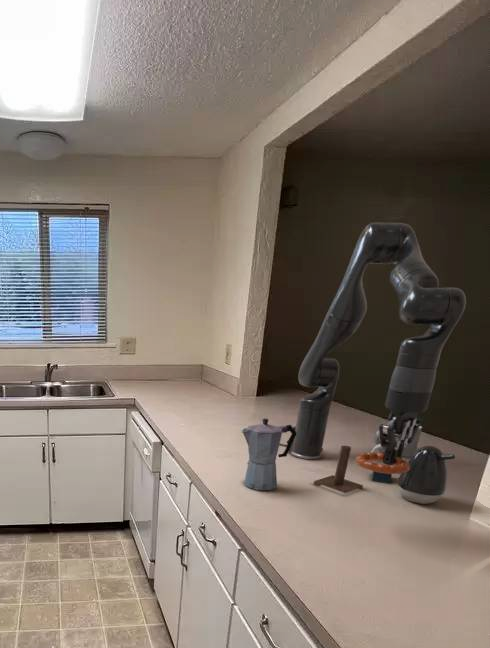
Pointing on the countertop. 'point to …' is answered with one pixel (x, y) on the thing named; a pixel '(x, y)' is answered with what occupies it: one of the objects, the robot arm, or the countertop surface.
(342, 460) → the stand
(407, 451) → the coffee mug
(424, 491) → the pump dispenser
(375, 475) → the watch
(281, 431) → the moka pot
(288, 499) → the countertop surface
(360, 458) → the ring
